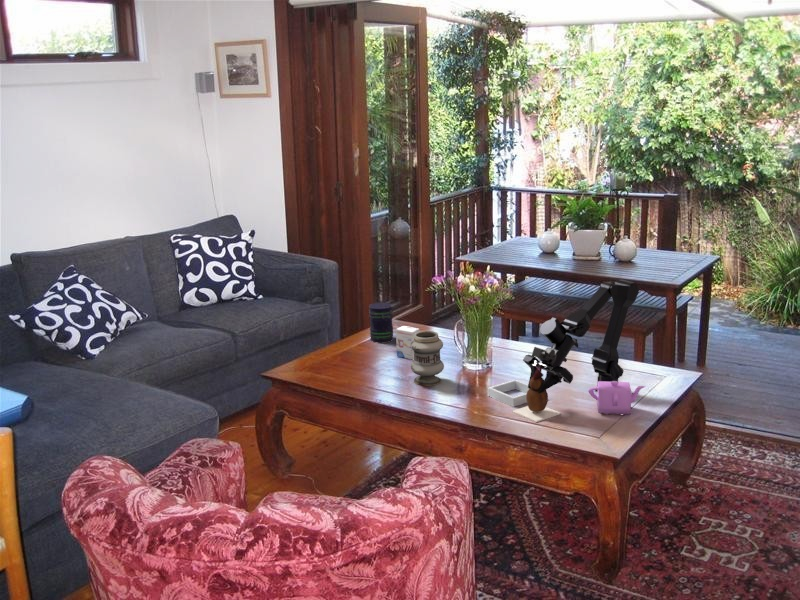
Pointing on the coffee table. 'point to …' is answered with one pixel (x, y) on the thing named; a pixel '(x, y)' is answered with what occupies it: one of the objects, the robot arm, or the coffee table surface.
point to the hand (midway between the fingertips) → (533, 390)
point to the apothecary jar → (427, 358)
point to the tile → (536, 414)
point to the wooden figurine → (536, 393)
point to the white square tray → (498, 390)
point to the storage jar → (381, 322)
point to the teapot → (614, 397)
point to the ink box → (405, 341)
